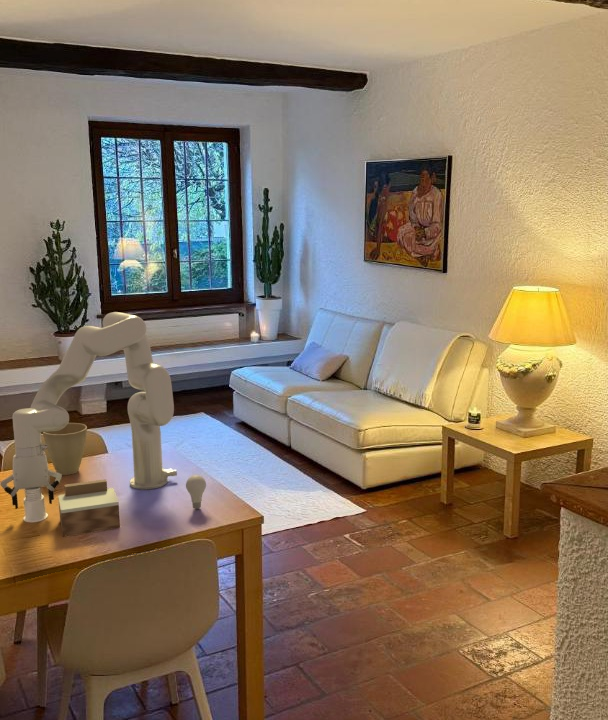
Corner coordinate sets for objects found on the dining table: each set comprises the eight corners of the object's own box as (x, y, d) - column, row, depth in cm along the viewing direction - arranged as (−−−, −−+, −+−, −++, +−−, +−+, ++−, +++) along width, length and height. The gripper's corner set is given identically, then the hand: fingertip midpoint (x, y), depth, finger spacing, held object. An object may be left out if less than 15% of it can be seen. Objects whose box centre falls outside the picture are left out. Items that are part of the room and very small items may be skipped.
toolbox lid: (113, 490, 226) (112, 478, 225) (118, 505, 215) (117, 492, 214) (58, 498, 221) (57, 485, 220) (61, 513, 210) (60, 500, 209)
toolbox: (114, 512, 228) (113, 491, 226) (120, 527, 217) (118, 505, 215) (60, 520, 222) (58, 498, 221) (62, 536, 211) (61, 513, 210)
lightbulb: (210, 506, 232) (209, 473, 229) (201, 514, 226) (200, 480, 224) (192, 504, 234) (191, 471, 231) (183, 511, 228) (182, 477, 226)
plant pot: (82, 478, 256) (79, 434, 253) (39, 479, 257) (36, 434, 254) (94, 464, 271) (92, 422, 268) (54, 464, 271) (51, 422, 268)
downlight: (29, 512, 228) (26, 482, 226) (52, 512, 228) (49, 482, 226) (19, 524, 221) (15, 492, 218) (42, 524, 220) (39, 493, 218)
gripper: (58, 443, 226) (63, 496, 230) (-3, 450, 220) (2, 504, 224) (60, 450, 219) (64, 504, 223) (-3, 457, 213) (2, 513, 217)
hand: (33, 504), depth 223 cm, fingers open, 9 cm apart
